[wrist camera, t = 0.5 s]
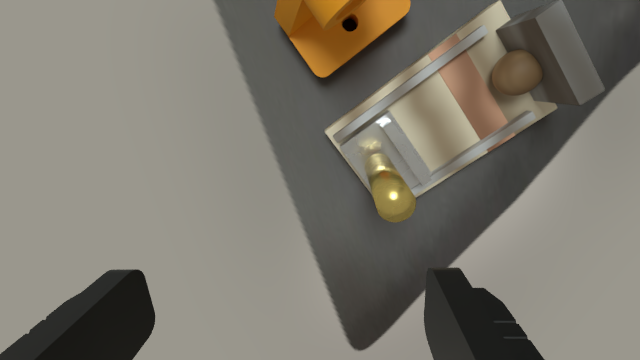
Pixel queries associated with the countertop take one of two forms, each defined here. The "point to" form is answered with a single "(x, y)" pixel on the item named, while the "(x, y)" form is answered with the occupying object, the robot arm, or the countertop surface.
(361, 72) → the countertop surface
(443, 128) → the board
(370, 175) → the handle
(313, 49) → the bracket
